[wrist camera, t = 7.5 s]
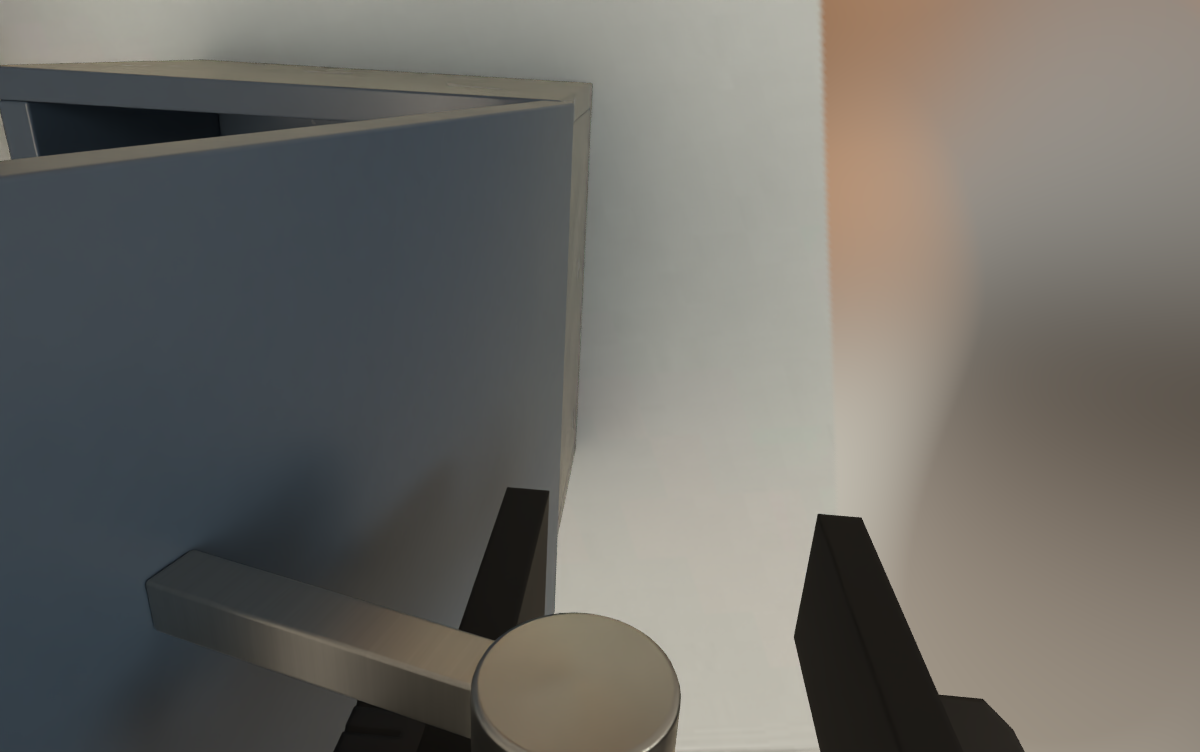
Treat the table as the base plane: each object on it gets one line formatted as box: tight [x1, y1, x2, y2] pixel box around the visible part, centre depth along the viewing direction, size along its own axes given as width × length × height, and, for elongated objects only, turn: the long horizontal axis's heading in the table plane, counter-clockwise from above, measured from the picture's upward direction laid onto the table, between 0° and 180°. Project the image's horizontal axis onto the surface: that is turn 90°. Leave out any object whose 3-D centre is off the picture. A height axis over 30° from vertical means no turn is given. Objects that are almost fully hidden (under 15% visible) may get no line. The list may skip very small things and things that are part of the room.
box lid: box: [0, 101, 681, 752], centre depth 14 cm, size 15×15×7 cm
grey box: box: [0, 60, 593, 537], centre depth 26 cm, size 14×15×10 cm
